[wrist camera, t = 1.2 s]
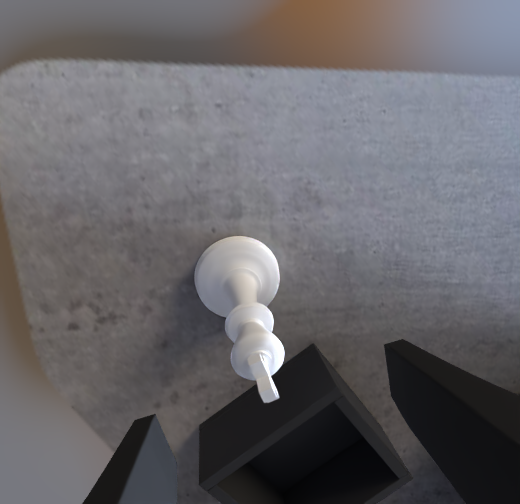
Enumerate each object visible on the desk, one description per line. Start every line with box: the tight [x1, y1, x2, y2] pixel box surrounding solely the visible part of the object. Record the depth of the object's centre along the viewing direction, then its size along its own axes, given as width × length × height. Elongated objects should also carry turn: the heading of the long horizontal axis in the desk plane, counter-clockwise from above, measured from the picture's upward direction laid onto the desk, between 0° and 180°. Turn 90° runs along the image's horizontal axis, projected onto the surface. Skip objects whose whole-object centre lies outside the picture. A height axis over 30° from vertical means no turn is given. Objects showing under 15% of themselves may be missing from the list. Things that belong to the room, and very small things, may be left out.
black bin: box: [199, 344, 413, 504], centre depth 22 cm, size 9×9×4 cm
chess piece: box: [194, 236, 284, 403], centre depth 16 cm, size 5×5×10 cm
